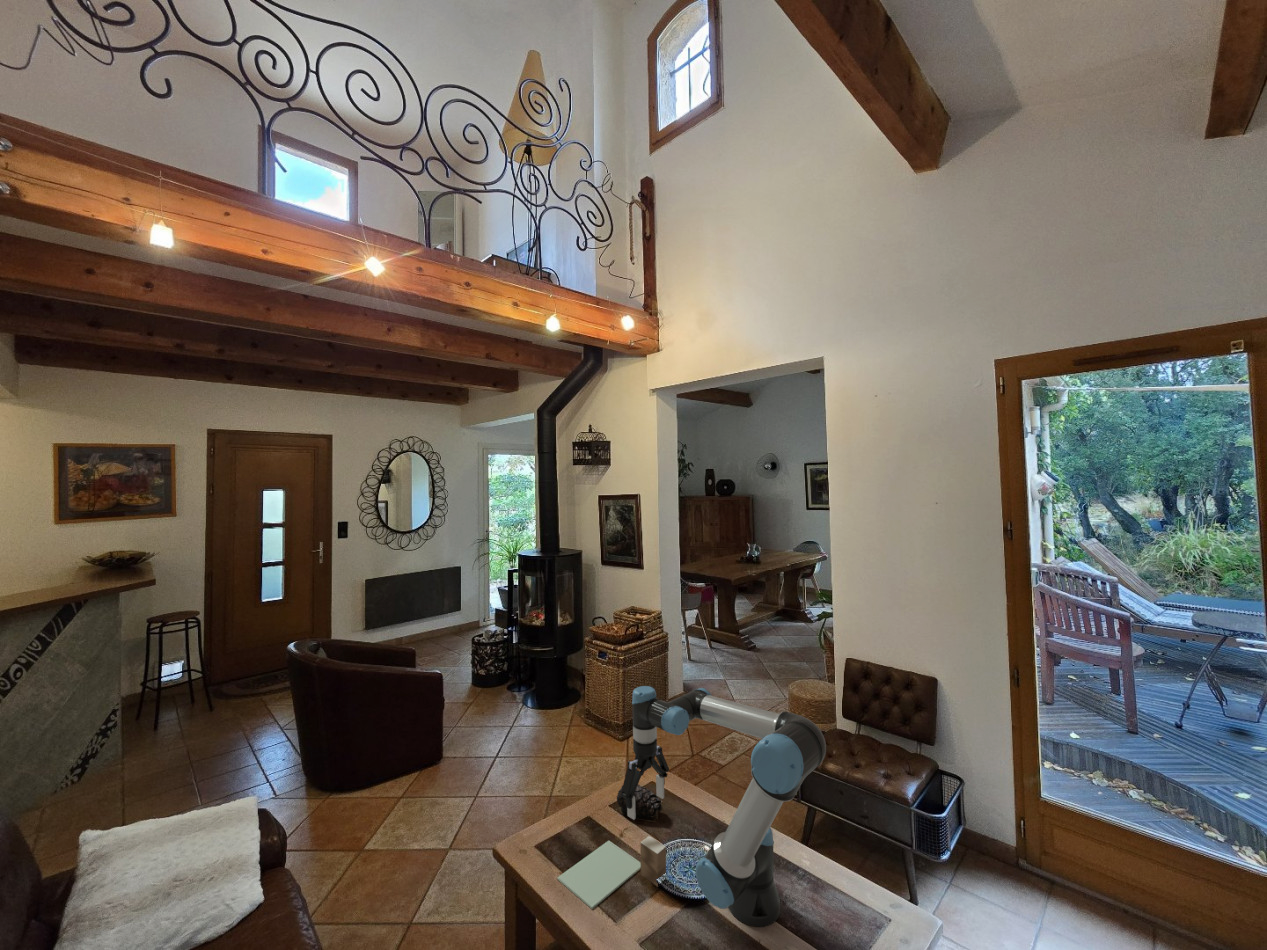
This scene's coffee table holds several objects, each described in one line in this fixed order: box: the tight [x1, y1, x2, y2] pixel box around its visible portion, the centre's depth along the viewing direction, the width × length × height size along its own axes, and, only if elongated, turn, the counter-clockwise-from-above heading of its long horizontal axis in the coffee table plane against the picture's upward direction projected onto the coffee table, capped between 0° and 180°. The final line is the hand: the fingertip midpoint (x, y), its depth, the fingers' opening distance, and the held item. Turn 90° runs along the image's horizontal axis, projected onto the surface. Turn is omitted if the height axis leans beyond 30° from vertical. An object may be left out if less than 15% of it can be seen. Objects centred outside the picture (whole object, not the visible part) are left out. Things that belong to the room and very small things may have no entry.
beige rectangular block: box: [640, 835, 667, 888], centre depth 156 cm, size 7×4×10 cm, turn 46°
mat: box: [556, 840, 641, 910], centre depth 158 cm, size 16×22×1 cm
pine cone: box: [616, 784, 663, 823], centre depth 187 cm, size 10×18×10 cm, turn 72°
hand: (646, 806), depth 158 cm, fingers open, 13 cm apart
